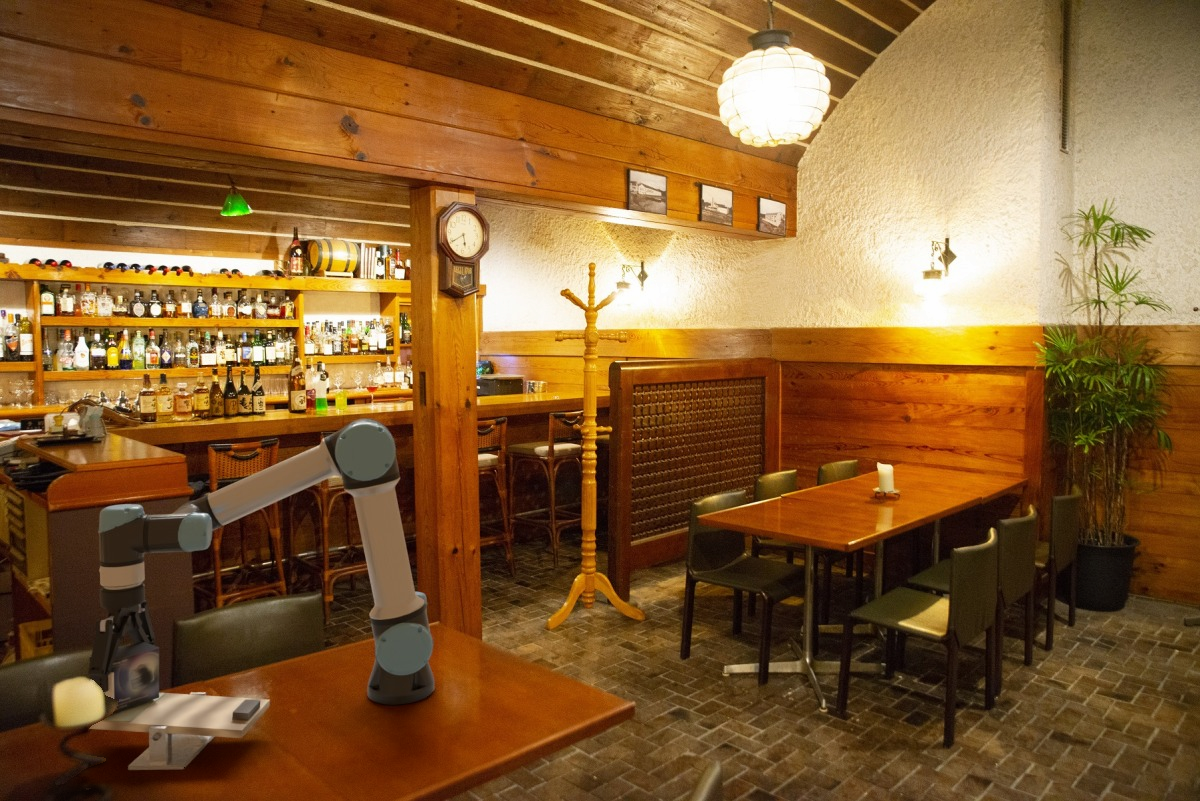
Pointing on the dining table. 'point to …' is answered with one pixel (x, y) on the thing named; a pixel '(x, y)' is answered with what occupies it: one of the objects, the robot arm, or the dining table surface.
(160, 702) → the balance beam
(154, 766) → the pivot stand
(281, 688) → the dining table surface
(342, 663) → the dining table surface
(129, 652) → the small box
